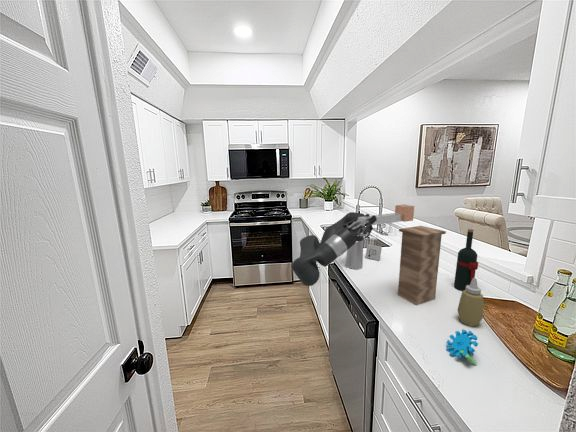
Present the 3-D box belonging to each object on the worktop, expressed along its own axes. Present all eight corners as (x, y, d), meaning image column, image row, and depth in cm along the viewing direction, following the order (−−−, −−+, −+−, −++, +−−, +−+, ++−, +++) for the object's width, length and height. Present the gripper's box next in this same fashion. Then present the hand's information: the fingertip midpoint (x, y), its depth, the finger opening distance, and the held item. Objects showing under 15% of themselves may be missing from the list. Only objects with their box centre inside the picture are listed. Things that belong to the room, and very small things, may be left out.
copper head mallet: (365, 226, 93) (365, 211, 92) (356, 224, 97) (356, 209, 96) (414, 220, 103) (416, 205, 102) (404, 218, 108) (405, 204, 106)
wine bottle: (464, 294, 117) (472, 232, 111) (450, 284, 127) (456, 227, 121) (481, 294, 117) (489, 232, 111) (465, 284, 127) (472, 227, 121)
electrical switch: (365, 258, 166) (366, 244, 165) (368, 256, 170) (369, 243, 169) (379, 261, 160) (380, 247, 159) (381, 259, 164) (383, 246, 163)
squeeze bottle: (474, 331, 92) (481, 285, 88) (451, 319, 99) (456, 276, 95) (486, 324, 95) (492, 280, 92) (463, 313, 102) (468, 272, 99)
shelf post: (416, 307, 108) (422, 235, 101) (394, 294, 118) (399, 229, 112) (438, 299, 113) (445, 231, 107) (415, 288, 124) (421, 225, 118)
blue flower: (441, 335, 87) (469, 323, 82) (454, 347, 87) (482, 336, 82) (449, 362, 77) (480, 349, 72) (463, 376, 77) (495, 364, 72)
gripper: (347, 240, 85) (382, 211, 89) (325, 230, 97) (356, 206, 102) (355, 256, 88) (389, 227, 92) (332, 245, 100) (363, 220, 104)
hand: (372, 216), depth 97 cm, fingers closed on copper head mallet, 3 cm apart
